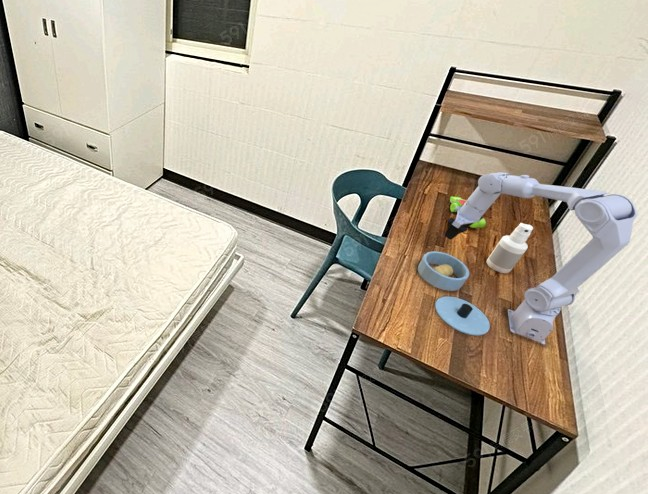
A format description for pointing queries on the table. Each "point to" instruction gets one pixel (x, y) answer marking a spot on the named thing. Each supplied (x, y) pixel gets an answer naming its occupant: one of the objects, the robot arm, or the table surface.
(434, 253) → the pot
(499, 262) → the spray bottle
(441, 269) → the potato
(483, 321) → the lid
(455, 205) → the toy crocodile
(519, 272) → the table surface
